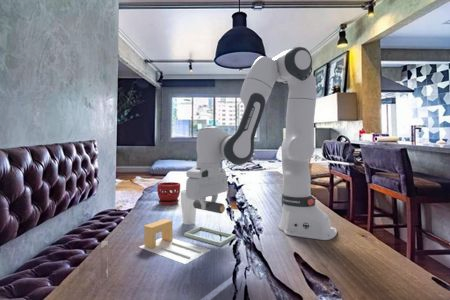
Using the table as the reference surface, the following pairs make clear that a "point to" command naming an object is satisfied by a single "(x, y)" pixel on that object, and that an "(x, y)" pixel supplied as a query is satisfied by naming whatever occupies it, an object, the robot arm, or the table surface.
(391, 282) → the table surface
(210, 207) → the battery
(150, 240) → the wooden bridge piece
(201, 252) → the station
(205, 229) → the green rectangular frame
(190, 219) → the drinking glass
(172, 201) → the plant pot
